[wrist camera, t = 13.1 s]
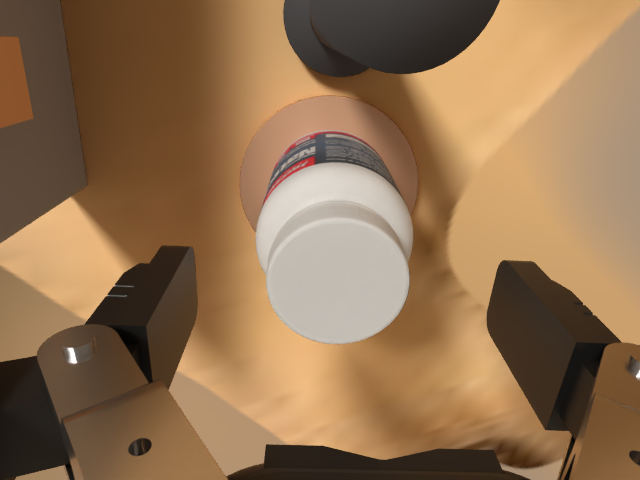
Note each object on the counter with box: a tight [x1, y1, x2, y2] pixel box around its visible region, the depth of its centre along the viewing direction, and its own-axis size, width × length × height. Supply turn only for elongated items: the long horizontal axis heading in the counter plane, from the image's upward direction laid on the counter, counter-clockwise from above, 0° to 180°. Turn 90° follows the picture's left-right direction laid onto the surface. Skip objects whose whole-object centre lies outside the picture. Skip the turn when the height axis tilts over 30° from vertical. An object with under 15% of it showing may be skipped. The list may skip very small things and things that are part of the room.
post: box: [283, 0, 500, 77], centre depth 12 cm, size 4×4×14 cm
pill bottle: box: [256, 130, 413, 344], centre depth 17 cm, size 5×5×9 cm
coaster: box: [240, 95, 418, 232], centre depth 21 cm, size 8×8×1 cm
